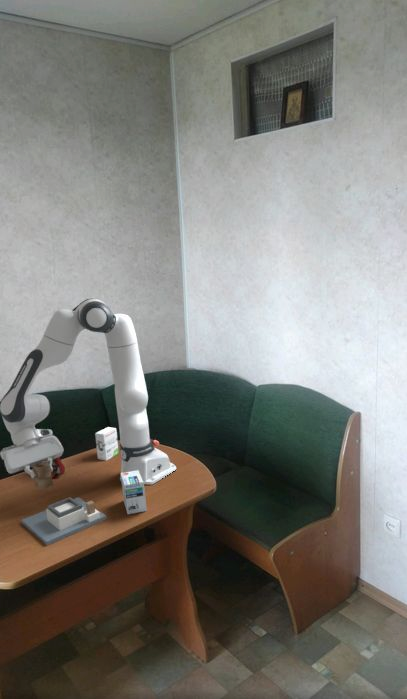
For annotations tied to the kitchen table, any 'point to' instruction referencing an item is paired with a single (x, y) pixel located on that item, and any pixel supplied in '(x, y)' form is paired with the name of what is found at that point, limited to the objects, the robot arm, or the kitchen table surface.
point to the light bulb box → (133, 492)
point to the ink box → (106, 443)
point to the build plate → (53, 531)
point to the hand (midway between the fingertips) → (43, 474)
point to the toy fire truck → (57, 466)
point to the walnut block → (42, 475)
